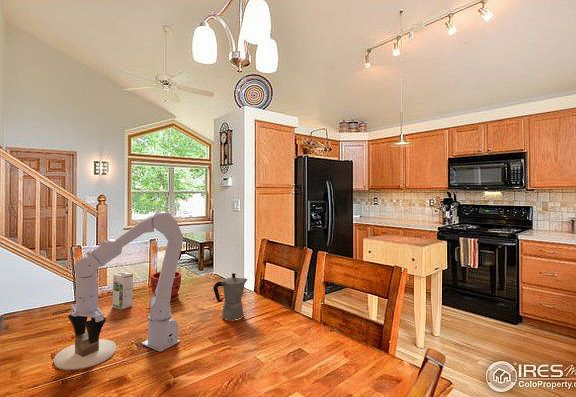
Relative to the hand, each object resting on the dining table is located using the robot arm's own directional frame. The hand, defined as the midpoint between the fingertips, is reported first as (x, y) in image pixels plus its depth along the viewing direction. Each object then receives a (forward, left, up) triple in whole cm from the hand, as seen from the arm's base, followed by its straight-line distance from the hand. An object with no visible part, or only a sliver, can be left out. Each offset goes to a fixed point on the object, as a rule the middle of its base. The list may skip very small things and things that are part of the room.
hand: (86, 339), depth 95 cm
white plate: (0, 0, -5) cm, 5 cm away
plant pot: (+20, -45, -5) cm, 49 cm away
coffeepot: (-18, -46, -5) cm, 50 cm away
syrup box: (+28, -29, -5) cm, 41 cm away
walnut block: (0, 0, -4) cm, 4 cm away
